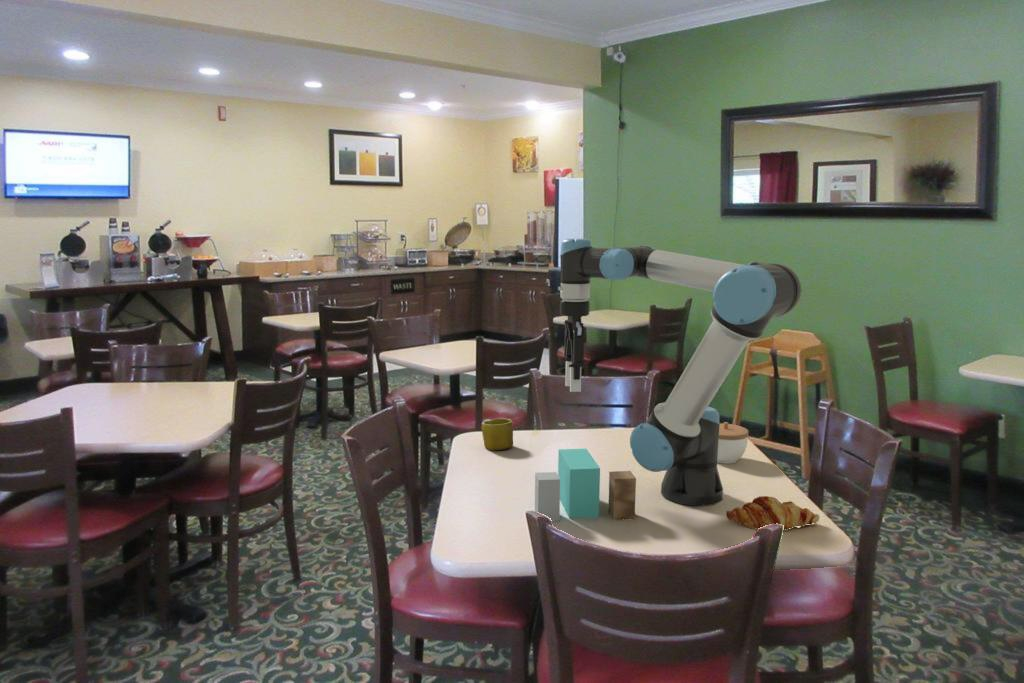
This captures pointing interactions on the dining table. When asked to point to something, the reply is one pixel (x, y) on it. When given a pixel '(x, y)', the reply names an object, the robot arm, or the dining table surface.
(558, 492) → the grey block
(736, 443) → the lidded bowl
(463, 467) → the dining table surface
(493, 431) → the mug
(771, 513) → the croissant
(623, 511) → the walnut block
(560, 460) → the teal block
